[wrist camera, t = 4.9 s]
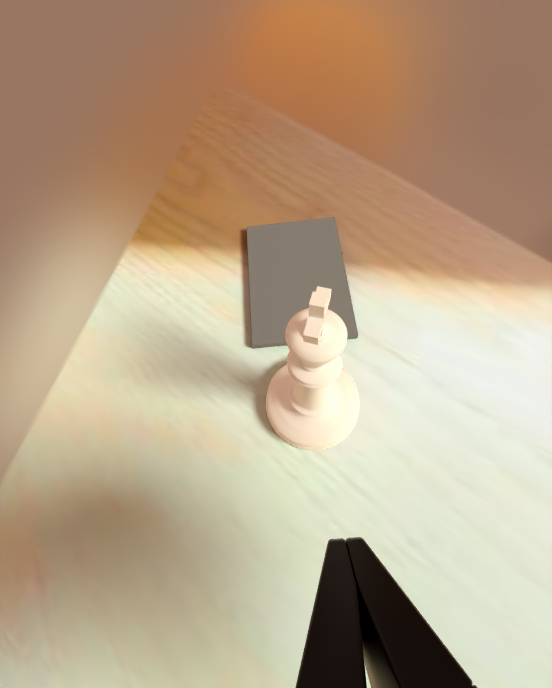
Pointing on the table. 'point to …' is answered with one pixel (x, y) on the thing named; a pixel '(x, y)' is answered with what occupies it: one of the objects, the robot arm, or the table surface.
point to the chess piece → (313, 380)
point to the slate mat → (294, 276)
